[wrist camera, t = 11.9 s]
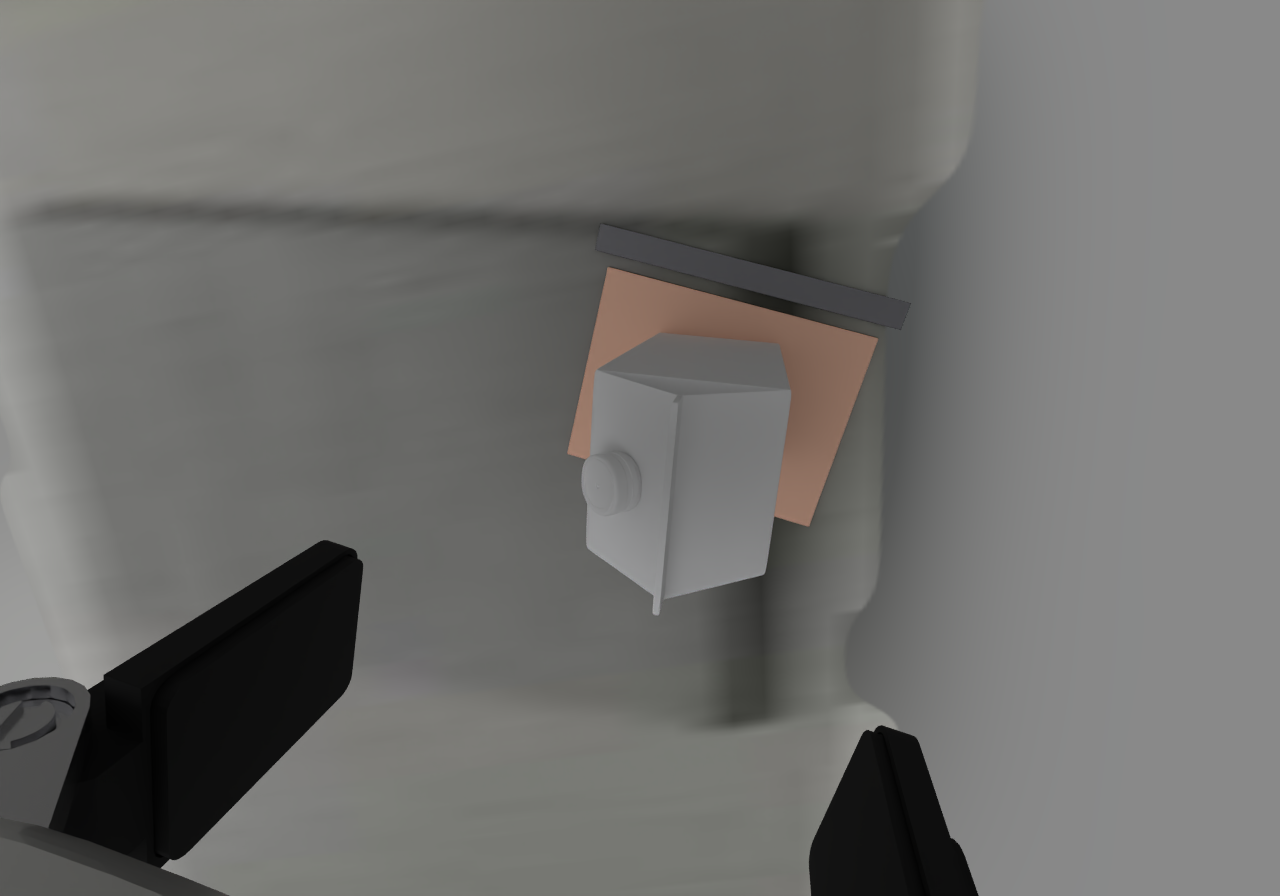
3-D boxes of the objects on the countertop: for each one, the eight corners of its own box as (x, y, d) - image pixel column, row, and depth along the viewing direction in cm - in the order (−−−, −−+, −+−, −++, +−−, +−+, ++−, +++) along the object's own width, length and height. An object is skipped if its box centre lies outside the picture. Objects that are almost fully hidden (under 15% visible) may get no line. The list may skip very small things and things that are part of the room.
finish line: (601, 223, 35) (600, 223, 35) (910, 302, 33) (911, 303, 33) (596, 250, 36) (595, 249, 36) (899, 329, 34) (900, 329, 34)
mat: (609, 267, 36) (607, 266, 36) (877, 337, 34) (878, 338, 34) (569, 451, 40) (567, 453, 39) (808, 524, 38) (808, 526, 38)
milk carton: (780, 342, 35) (799, 416, 17) (764, 459, 37) (766, 634, 19) (659, 331, 36) (557, 389, 18) (650, 445, 38) (551, 598, 20)
